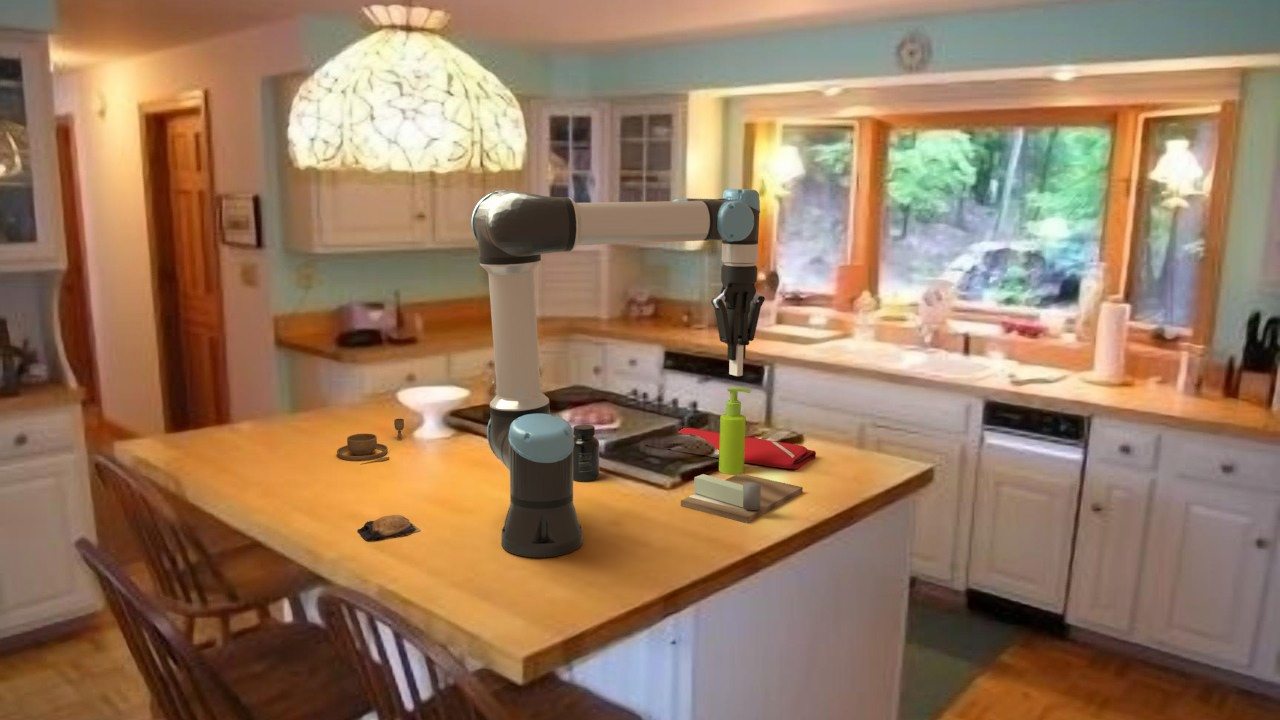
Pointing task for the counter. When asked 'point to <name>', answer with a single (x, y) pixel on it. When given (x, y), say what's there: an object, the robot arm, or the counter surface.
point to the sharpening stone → (729, 491)
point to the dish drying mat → (763, 450)
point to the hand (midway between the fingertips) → (735, 374)
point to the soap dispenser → (732, 435)
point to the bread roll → (387, 528)
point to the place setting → (367, 446)
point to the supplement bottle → (585, 453)
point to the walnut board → (770, 498)
